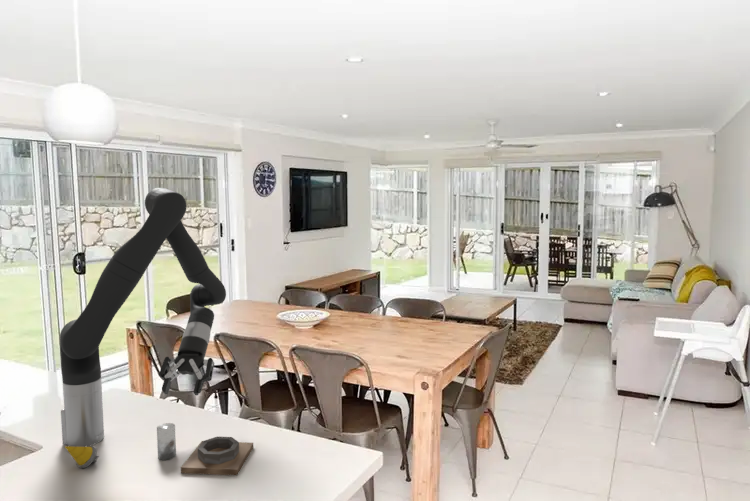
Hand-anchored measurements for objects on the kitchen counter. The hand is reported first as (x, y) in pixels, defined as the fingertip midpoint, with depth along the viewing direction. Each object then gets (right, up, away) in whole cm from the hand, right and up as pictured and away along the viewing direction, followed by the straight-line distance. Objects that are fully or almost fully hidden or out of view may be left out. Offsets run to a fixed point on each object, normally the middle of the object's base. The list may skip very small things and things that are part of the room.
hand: (180, 393), depth 149 cm
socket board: (+13, -14, -10) cm, 22 cm away
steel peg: (-1, -14, -8) cm, 16 cm away
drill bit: (-19, -15, -14) cm, 28 cm away
